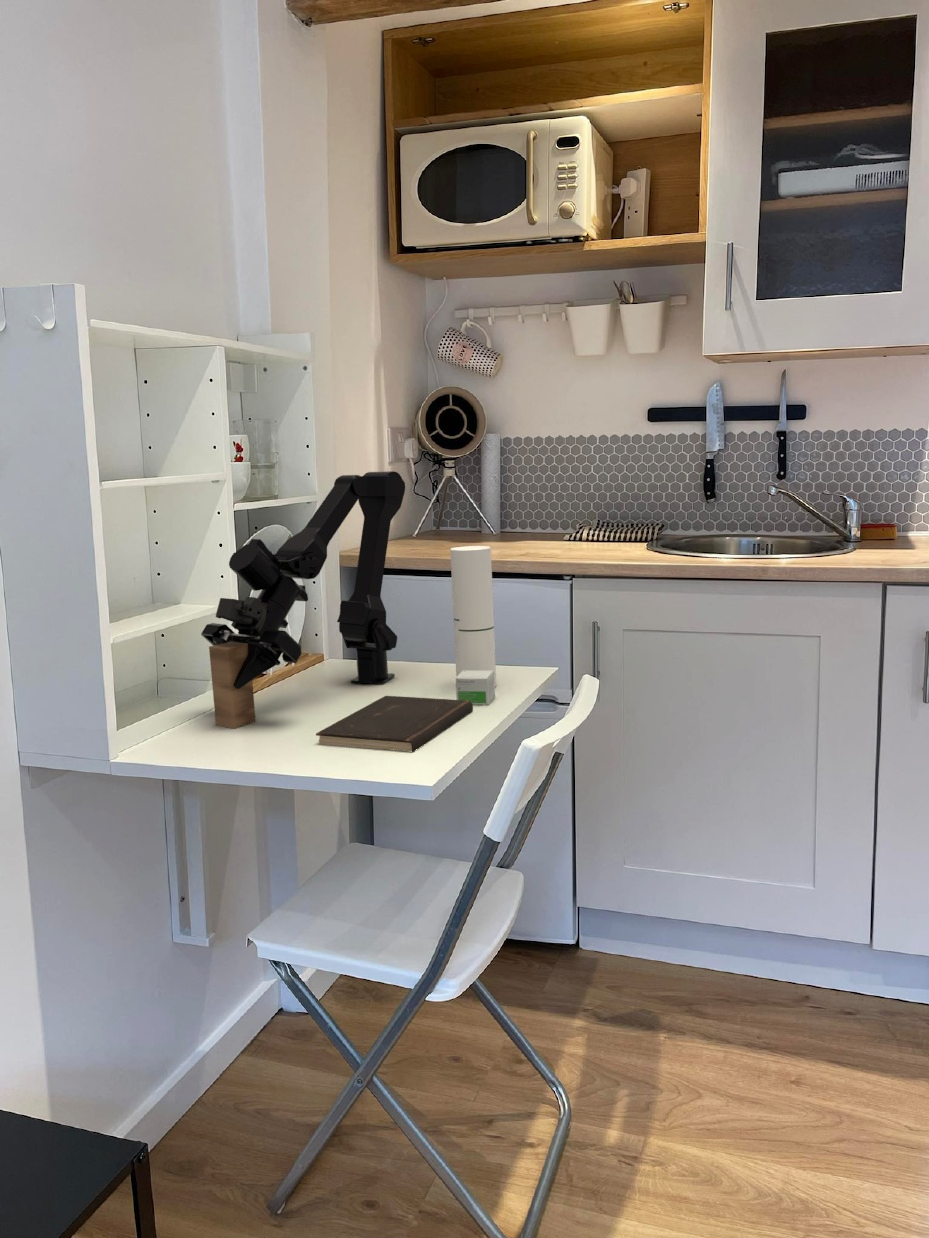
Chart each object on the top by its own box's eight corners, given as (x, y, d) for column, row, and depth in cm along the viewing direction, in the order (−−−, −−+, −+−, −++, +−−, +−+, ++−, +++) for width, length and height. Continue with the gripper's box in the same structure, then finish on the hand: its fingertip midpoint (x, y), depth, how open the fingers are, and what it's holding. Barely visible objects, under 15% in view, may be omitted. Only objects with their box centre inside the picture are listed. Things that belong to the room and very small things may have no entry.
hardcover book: (316, 748, 154) (315, 733, 153) (386, 708, 174) (385, 695, 174) (413, 756, 147) (412, 740, 147) (473, 714, 168) (472, 700, 168)
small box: (456, 705, 173) (454, 677, 172) (463, 697, 178) (462, 669, 177) (489, 706, 171) (488, 677, 170) (495, 697, 177) (494, 669, 176)
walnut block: (237, 718, 170) (230, 641, 168) (255, 721, 168) (249, 643, 165) (215, 724, 167) (209, 646, 164) (234, 728, 164) (227, 649, 162)
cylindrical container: (482, 679, 190) (477, 545, 185) (503, 686, 184) (498, 547, 179) (449, 685, 186) (442, 548, 182) (469, 693, 180) (463, 551, 176)
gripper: (205, 575, 172) (156, 652, 165) (282, 580, 161) (234, 663, 154) (245, 614, 179) (200, 689, 173) (321, 622, 168) (277, 702, 161)
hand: (225, 685), depth 165 cm, fingers closed on walnut block, 4 cm apart
